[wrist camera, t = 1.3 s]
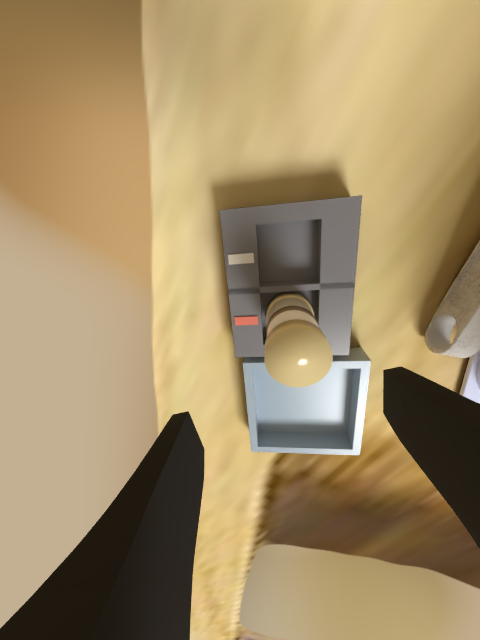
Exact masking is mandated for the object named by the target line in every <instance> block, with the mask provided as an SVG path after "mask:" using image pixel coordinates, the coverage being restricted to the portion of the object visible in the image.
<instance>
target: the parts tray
mask: <svg viewBox="0 0 480 640" xmlns="http://www.w3.org/2000/svg"><path fill="white" fill-rule="evenodd" d="M370 366H371V360H370V359H369V357H368V356H367V354H366V353H365V352H364V350H363V349H362V347H352V348H350V349H349V355H333V361H332V365H331V368H330V370H329V372H328V373H327V374H326V376H325V377H324V378H323V379H321V380H320V381H319V382H317V383H315V384H313V385H310V386H306V387H290V386H286V385H283V384H281V383H279V382H278V381H276V380H275V379H274V378H272V376H271V375H270V374H269V373H268V371H267V369H266V366H265V361H264V357H244V359H243V371H244V382H245V392H246V402H247V412H248V422H249V433H250V443H251V452H277V453H308V454H338V455H360V449H361V441H362V432H363V424H364V416H365V407H366V399H367V391H368V383H369V374H370Z"/></svg>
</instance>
